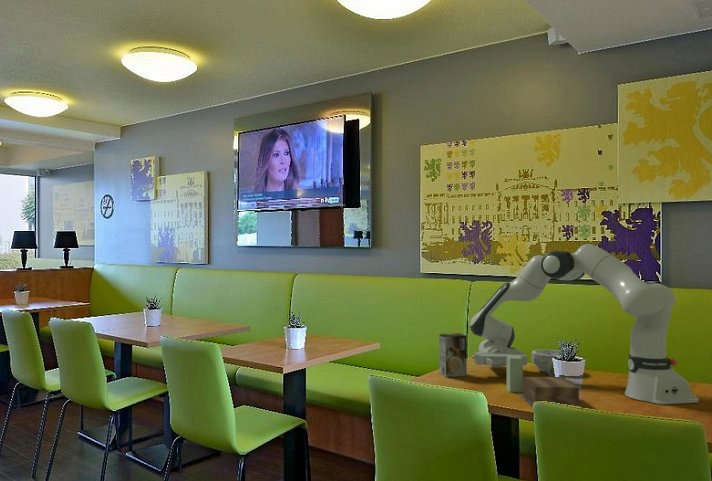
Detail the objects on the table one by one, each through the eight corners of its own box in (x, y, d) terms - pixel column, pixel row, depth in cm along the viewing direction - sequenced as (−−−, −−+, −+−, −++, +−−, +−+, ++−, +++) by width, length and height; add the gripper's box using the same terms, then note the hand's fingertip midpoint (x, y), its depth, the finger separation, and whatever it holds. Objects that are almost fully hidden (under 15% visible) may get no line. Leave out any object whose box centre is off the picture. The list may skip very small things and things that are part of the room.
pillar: (518, 389, 204) (519, 355, 204) (522, 392, 199) (522, 358, 199) (506, 388, 204) (506, 355, 204) (509, 392, 199) (510, 358, 199)
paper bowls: (565, 367, 239) (565, 349, 239) (575, 376, 224) (575, 356, 224) (528, 366, 241) (528, 348, 241) (536, 375, 226) (536, 355, 226)
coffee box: (459, 372, 229) (460, 332, 229) (466, 376, 222) (467, 335, 222) (438, 373, 226) (439, 333, 226) (445, 377, 220) (445, 336, 220)
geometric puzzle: (570, 378, 212) (564, 358, 217) (553, 378, 211) (547, 358, 216) (562, 385, 217) (556, 366, 222) (546, 386, 216) (540, 366, 221)
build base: (564, 394, 196) (564, 376, 196) (583, 408, 180) (583, 388, 180) (518, 394, 196) (518, 376, 196) (533, 407, 180) (533, 387, 180)
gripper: (470, 347, 227) (478, 354, 213) (521, 348, 227) (531, 355, 214) (470, 363, 227) (477, 371, 213) (520, 363, 227) (531, 371, 214)
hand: (505, 363), depth 214 cm, fingers open, 8 cm apart
